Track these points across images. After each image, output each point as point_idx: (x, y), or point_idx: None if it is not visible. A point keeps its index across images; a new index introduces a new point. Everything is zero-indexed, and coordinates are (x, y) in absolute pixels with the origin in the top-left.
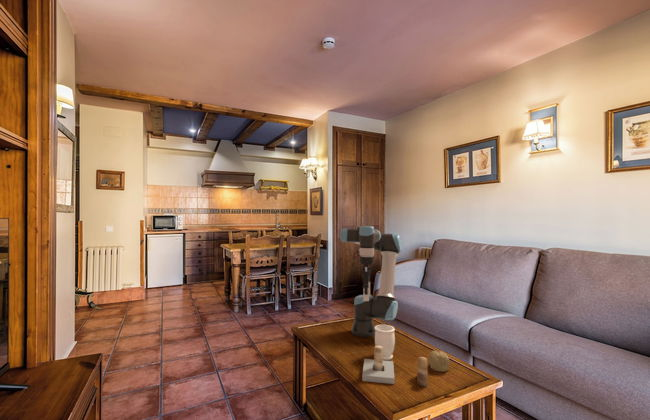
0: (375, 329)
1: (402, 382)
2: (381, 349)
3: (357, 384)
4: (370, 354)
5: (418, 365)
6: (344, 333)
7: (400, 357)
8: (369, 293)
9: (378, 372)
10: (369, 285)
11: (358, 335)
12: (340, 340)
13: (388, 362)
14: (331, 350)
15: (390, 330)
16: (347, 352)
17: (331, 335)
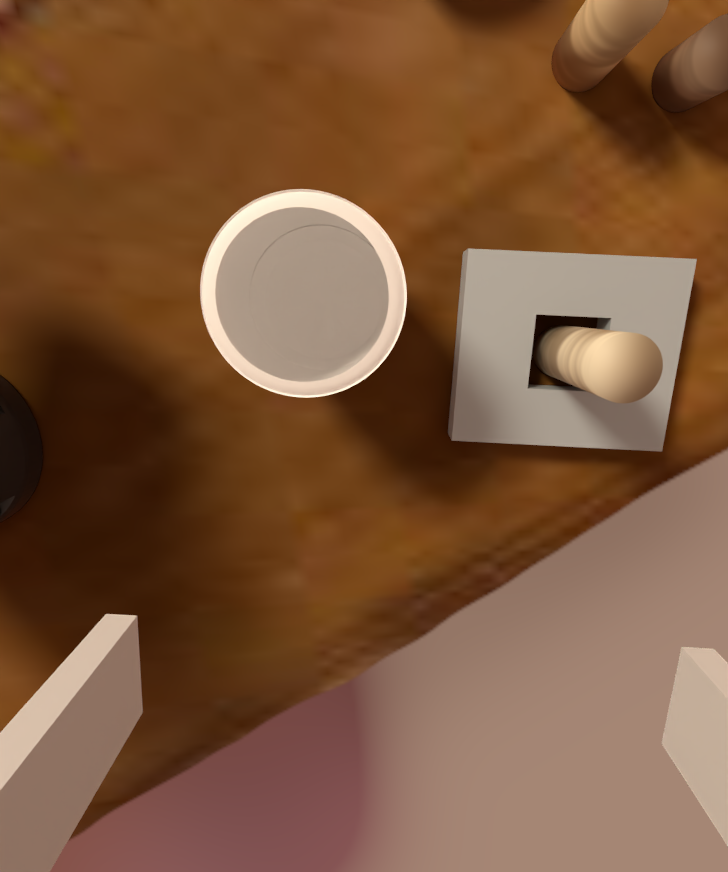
0: (339, 391)
1: (657, 210)
2: (655, 344)
3: (682, 468)
4: None
5: (614, 59)
6: (9, 572)
7: (324, 188)
8: (131, 635)
9: None
10: (10, 795)
11: (35, 479)
12: (136, 589)
13: (488, 283)
14: (296, 628)
15: (371, 240)
16: (307, 537)
17: (69, 649)
